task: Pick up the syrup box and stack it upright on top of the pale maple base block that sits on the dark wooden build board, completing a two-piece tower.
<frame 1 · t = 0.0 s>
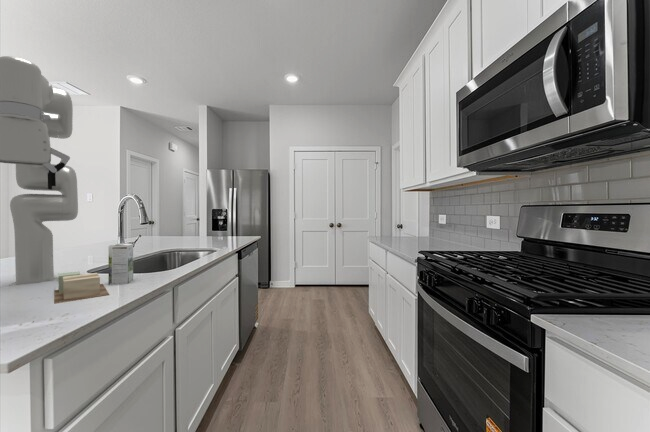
hand: (22, 188, 71), 31 cm above the table, tool pointing down, fingers open, 9 cm apart
syrup box: (121, 287, 102), on the table
build board: (81, 297, 90), on the table
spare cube: (69, 289, 93), point 1 cm above the table, touching build board
base block: (81, 293, 88), point 1 cm above the table, touching build board
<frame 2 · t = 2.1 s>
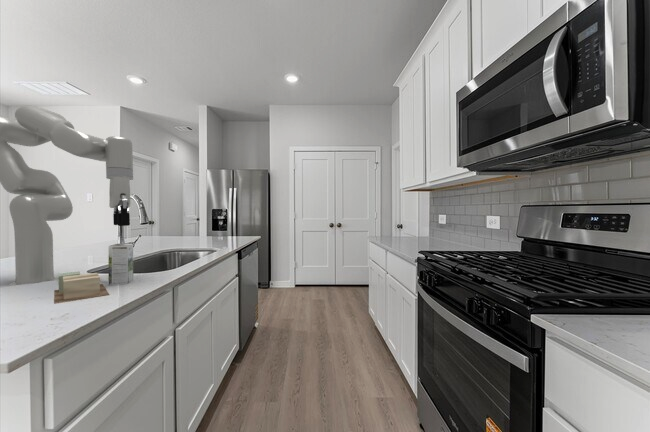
hand: (121, 225, 102), 21 cm above the table, tool pointing down, fingers open, 9 cm apart
nothing on the table moved.
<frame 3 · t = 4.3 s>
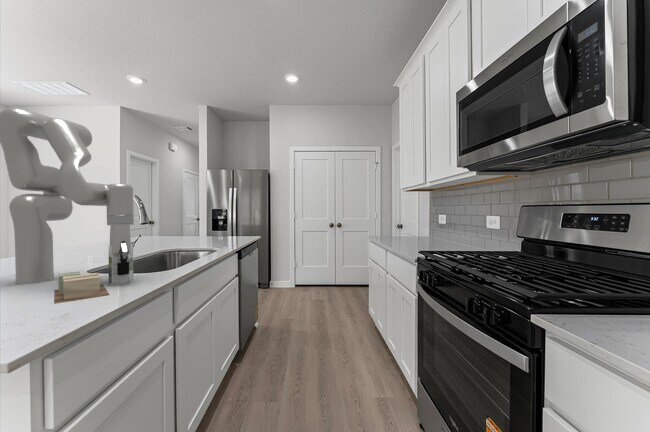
hand: (121, 272, 102), 5 cm above the table, tool pointing down, fingers closed on syrup box, 7 cm apart
syrup box: (121, 287, 102), on the table, touching gripper
everything else where it was.
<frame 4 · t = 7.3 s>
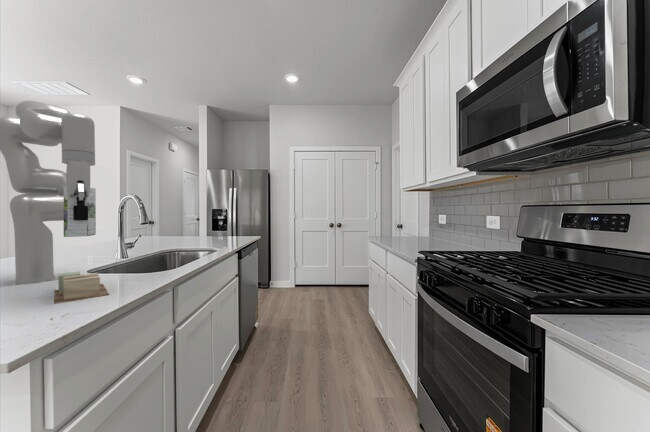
hand: (80, 219, 88), 23 cm above the table, tool pointing down, fingers closed on syrup box, 7 cm apart
syrup box: (80, 236, 88), point 18 cm above the table, touching gripper
everything else where it was.
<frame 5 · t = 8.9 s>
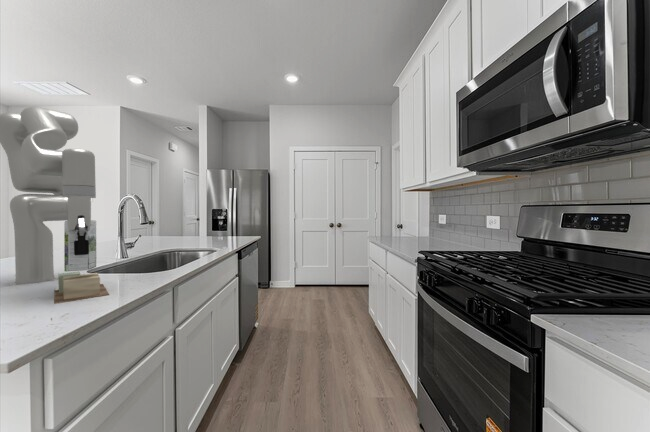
hand: (80, 252, 88), 14 cm above the table, tool pointing down, fingers closed on syrup box, 7 cm apart
syrup box: (81, 270, 88), point 8 cm above the table, touching gripper
everything else where it was.
when the fingers open (12 cm above the table, at t = 10.2 s): syrup box stays where it is, resting on base block.
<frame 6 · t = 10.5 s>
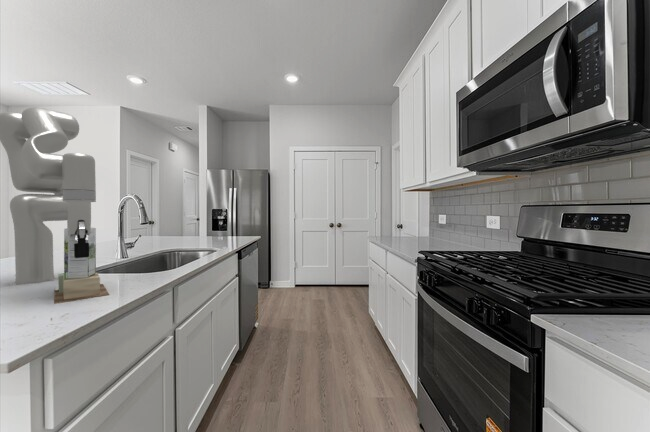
hand: (80, 255, 88), 13 cm above the table, tool pointing down, fingers open, 9 cm apart
syrup box: (81, 277, 88), point 6 cm above the table, touching base block
base block: (81, 293, 88), point 1 cm above the table, touching build board, syrup box
everything else where it was.
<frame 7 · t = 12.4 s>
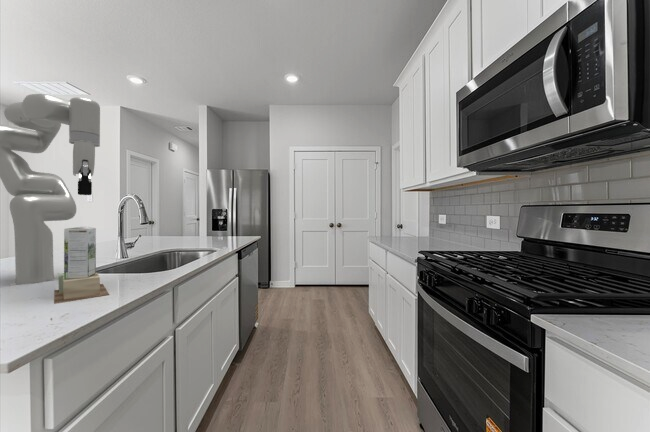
hand: (84, 194, 95), 31 cm above the table, tool pointing down, fingers open, 9 cm apart
nothing on the table moved.
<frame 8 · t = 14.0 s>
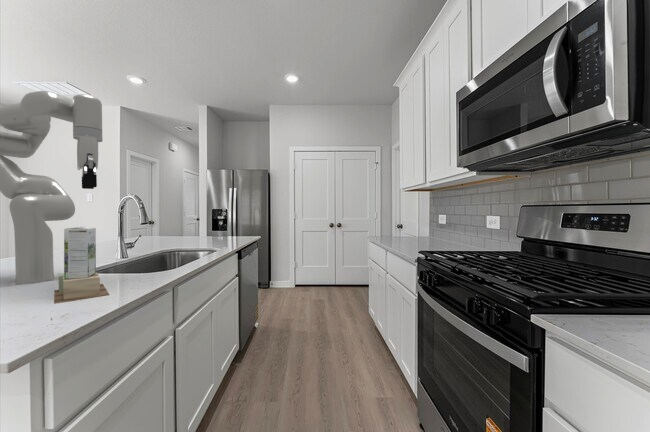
hand: (89, 187, 99), 33 cm above the table, tool pointing down, fingers open, 9 cm apart
nothing on the table moved.
at the end: syrup box inside the target area on the base block (0.4 cm from its centre), point 4.8 cm above the base block's base; syrup box tilted 0°; the gripper is holding nothing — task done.
